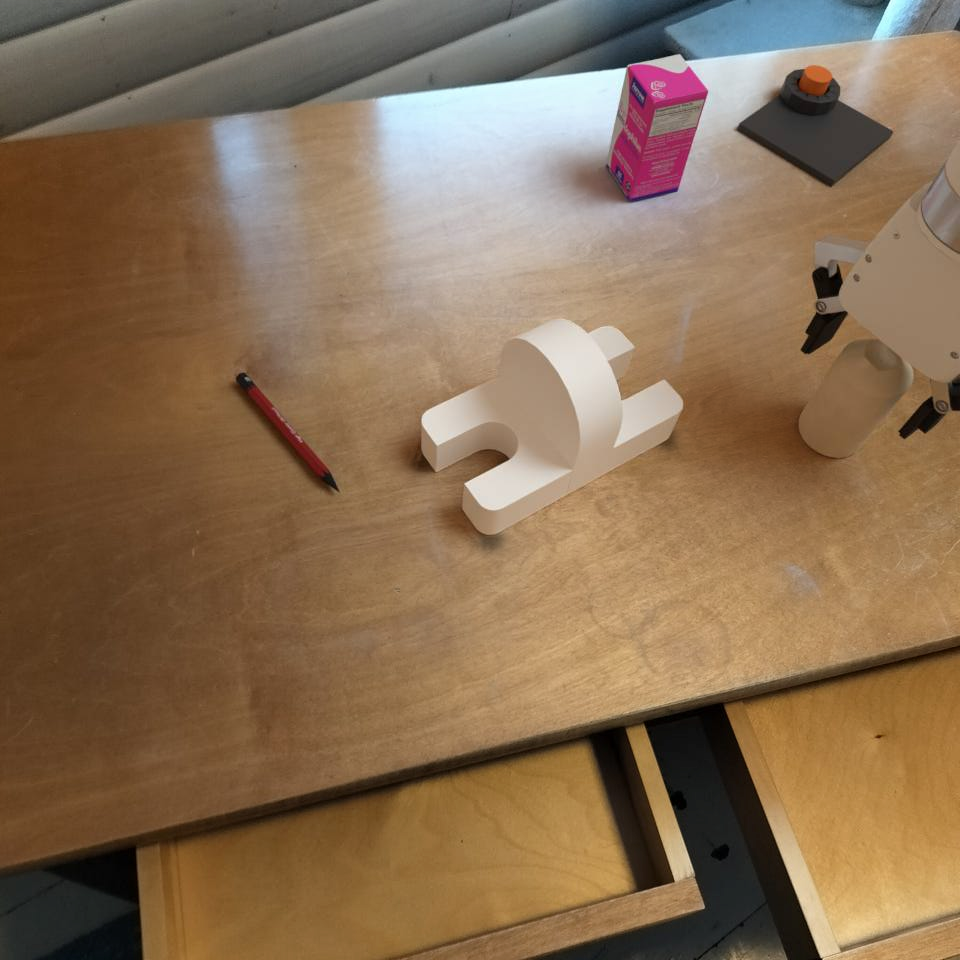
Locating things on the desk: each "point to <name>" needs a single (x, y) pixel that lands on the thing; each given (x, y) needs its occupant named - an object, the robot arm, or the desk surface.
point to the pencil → (286, 430)
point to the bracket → (548, 421)
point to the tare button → (815, 80)
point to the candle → (854, 398)
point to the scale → (815, 130)
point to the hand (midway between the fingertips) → (862, 385)
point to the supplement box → (655, 126)
